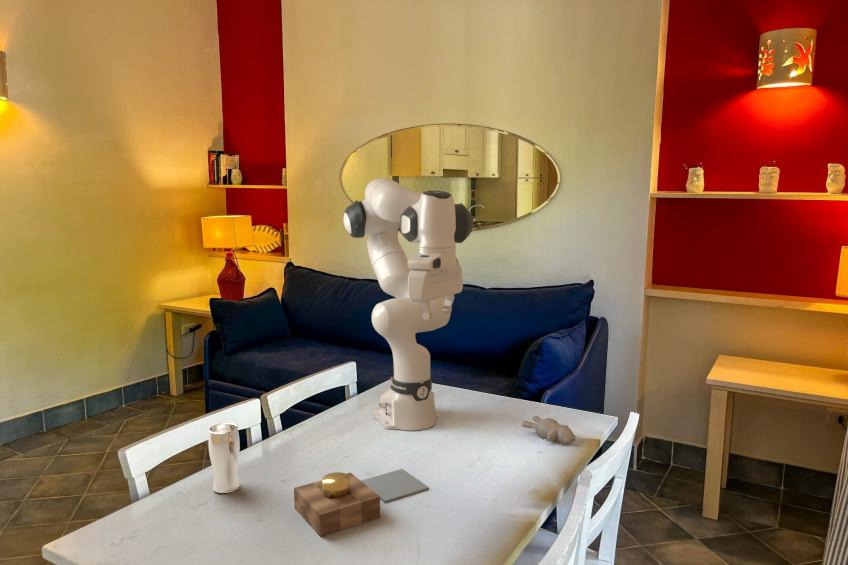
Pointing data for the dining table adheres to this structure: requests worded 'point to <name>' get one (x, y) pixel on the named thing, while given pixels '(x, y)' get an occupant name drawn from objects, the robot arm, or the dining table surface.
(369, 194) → the robot arm
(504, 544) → the dining table surface
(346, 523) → the walnut block
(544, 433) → the bunny figurine
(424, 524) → the dining table surface
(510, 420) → the dining table surface
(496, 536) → the dining table surface
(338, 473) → the brass knob
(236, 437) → the beer glass
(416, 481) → the rubber mat
